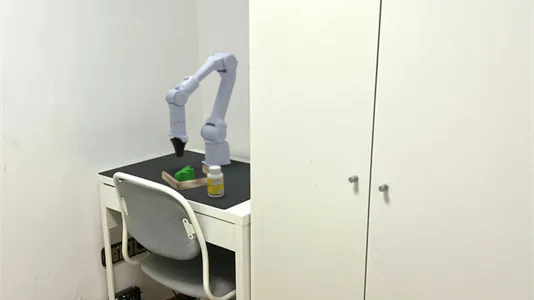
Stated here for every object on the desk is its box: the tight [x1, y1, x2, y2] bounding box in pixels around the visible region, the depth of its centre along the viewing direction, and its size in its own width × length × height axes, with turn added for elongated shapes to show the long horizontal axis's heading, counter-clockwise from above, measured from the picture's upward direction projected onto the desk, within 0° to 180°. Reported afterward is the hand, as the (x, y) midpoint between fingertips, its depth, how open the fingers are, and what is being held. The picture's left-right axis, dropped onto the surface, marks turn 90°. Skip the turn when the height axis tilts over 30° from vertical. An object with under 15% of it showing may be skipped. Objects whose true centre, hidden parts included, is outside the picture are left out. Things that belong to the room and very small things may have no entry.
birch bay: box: [161, 164, 210, 191], centre depth 209 cm, size 17×16×3 cm
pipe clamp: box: [174, 165, 195, 182], centre depth 208 cm, size 11×4×5 cm, turn 163°
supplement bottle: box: [206, 165, 225, 198], centre depth 193 cm, size 5×5×10 cm
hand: (179, 156), depth 218 cm, fingers closed
